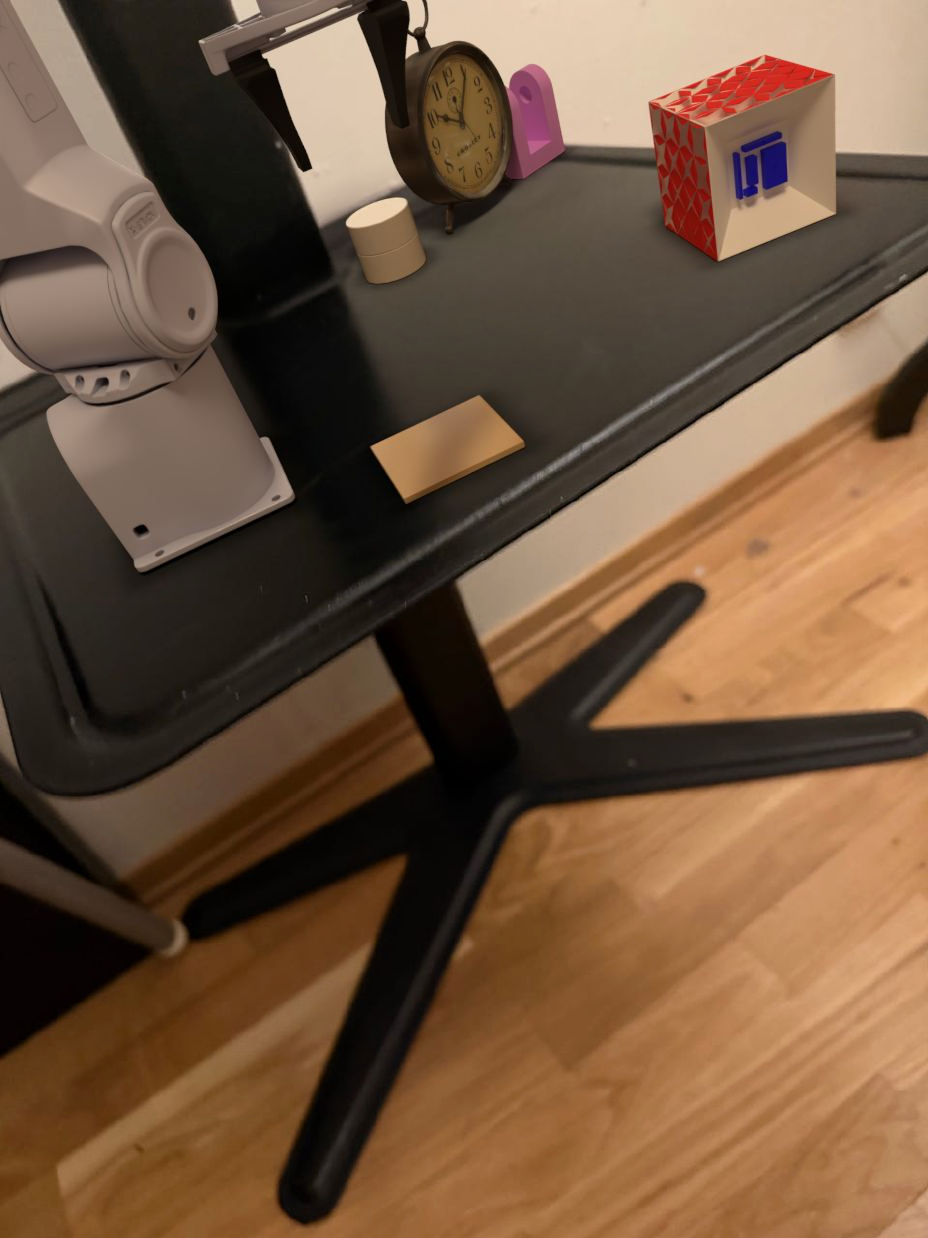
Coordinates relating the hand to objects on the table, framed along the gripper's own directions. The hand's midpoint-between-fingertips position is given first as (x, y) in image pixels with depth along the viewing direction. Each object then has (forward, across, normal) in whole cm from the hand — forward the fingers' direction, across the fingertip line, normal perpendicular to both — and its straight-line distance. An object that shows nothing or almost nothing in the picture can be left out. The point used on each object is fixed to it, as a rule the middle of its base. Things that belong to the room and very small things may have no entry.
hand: (353, 146), depth 64 cm
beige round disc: (+9, 0, 0) cm, 9 cm away
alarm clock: (+9, -8, -5) cm, 14 cm away
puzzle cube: (+9, -20, +18) cm, 28 cm away
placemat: (+9, +6, +28) cm, 30 cm away
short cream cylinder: (+7, 0, 0) cm, 7 cm away
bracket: (+9, -14, -14) cm, 22 cm away
